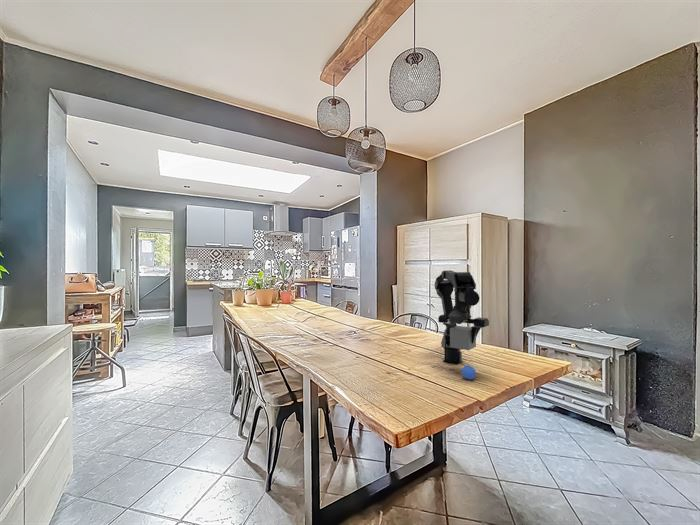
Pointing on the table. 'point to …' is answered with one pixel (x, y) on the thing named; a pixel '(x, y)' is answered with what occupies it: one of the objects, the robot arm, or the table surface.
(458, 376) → the table surface
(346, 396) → the table surface
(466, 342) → the concrete-looking gray cube
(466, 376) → the ball
